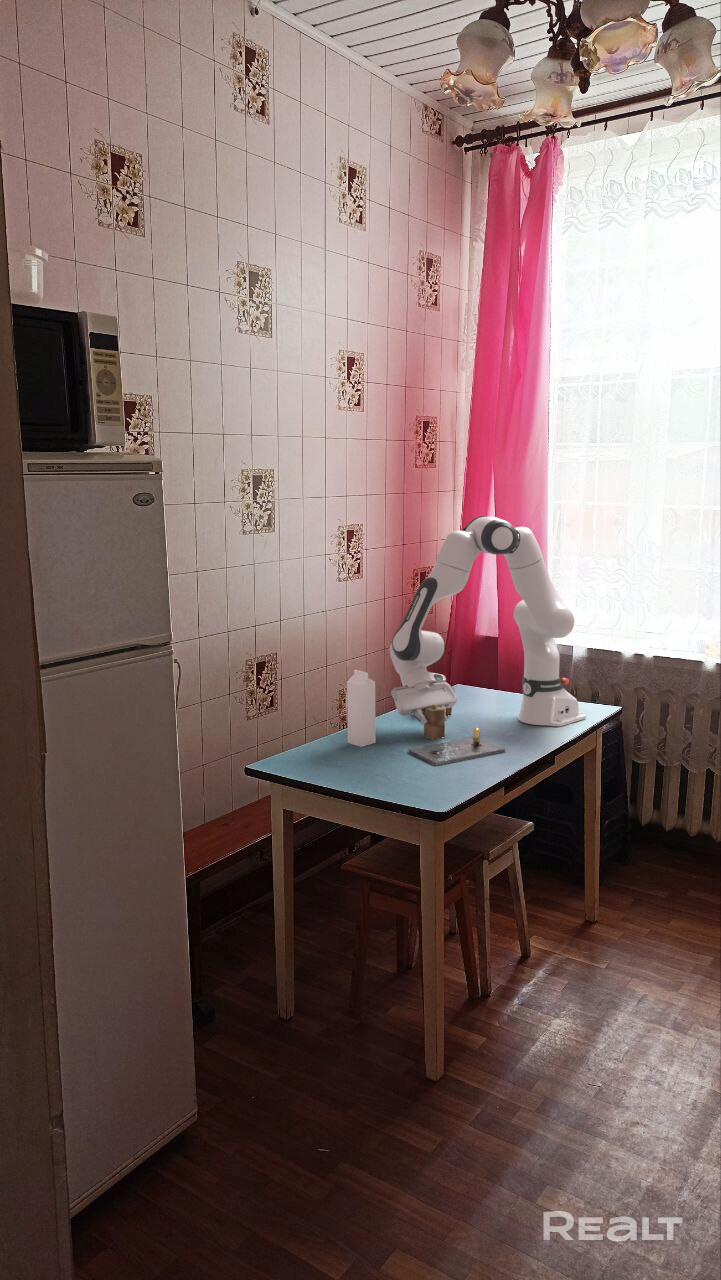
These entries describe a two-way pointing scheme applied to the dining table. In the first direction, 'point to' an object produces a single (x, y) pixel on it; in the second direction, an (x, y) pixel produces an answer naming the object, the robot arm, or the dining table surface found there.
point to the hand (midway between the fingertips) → (435, 721)
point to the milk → (361, 709)
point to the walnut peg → (434, 722)
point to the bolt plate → (456, 750)
